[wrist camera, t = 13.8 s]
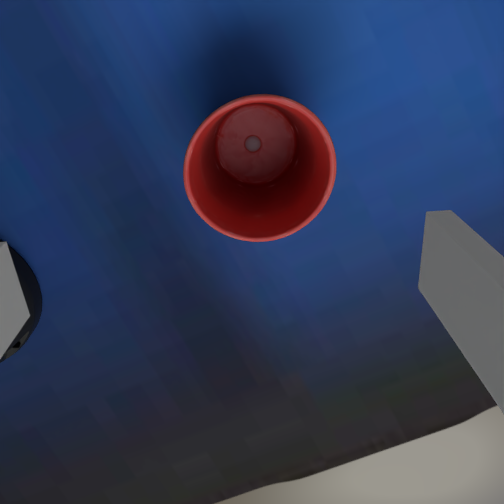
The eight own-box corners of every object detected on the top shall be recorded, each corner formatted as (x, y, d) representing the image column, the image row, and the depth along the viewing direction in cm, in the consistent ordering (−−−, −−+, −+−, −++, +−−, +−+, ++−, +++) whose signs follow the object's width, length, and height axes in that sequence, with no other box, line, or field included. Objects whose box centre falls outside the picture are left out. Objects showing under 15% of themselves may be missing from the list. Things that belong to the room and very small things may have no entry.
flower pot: (178, 96, 40) (162, 117, 32) (305, 65, 40) (325, 78, 31) (209, 210, 45) (204, 256, 36) (324, 184, 44) (346, 225, 35)
